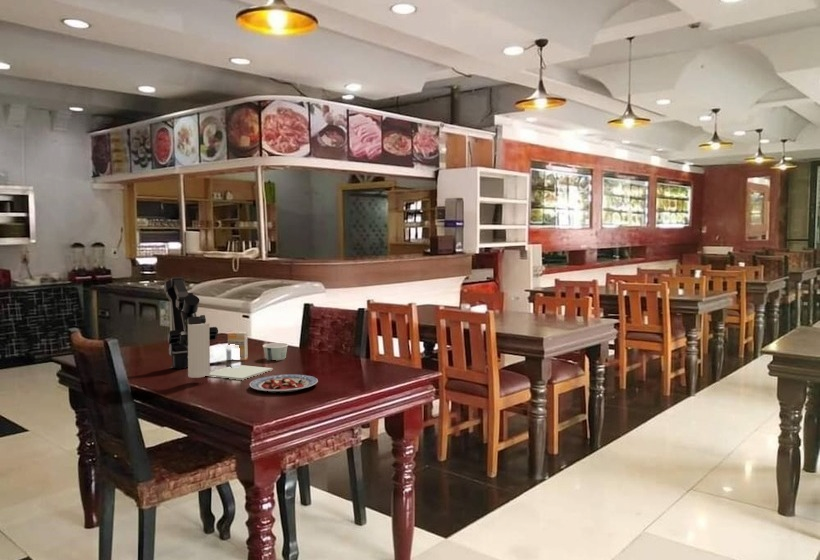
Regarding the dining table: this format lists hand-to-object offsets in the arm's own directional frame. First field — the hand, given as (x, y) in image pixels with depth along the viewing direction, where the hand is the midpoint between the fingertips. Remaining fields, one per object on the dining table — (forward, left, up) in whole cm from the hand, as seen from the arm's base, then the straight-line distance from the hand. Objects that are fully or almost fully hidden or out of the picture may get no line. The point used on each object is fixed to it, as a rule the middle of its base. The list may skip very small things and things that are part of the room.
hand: (197, 352), depth 243 cm
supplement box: (-17, +44, -13) cm, 49 cm away
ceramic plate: (+35, +9, -13) cm, 38 cm away
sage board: (+3, +21, -13) cm, 24 cm away
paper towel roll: (-1, +1, -10) cm, 10 cm away
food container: (-2, +53, -13) cm, 54 cm away
